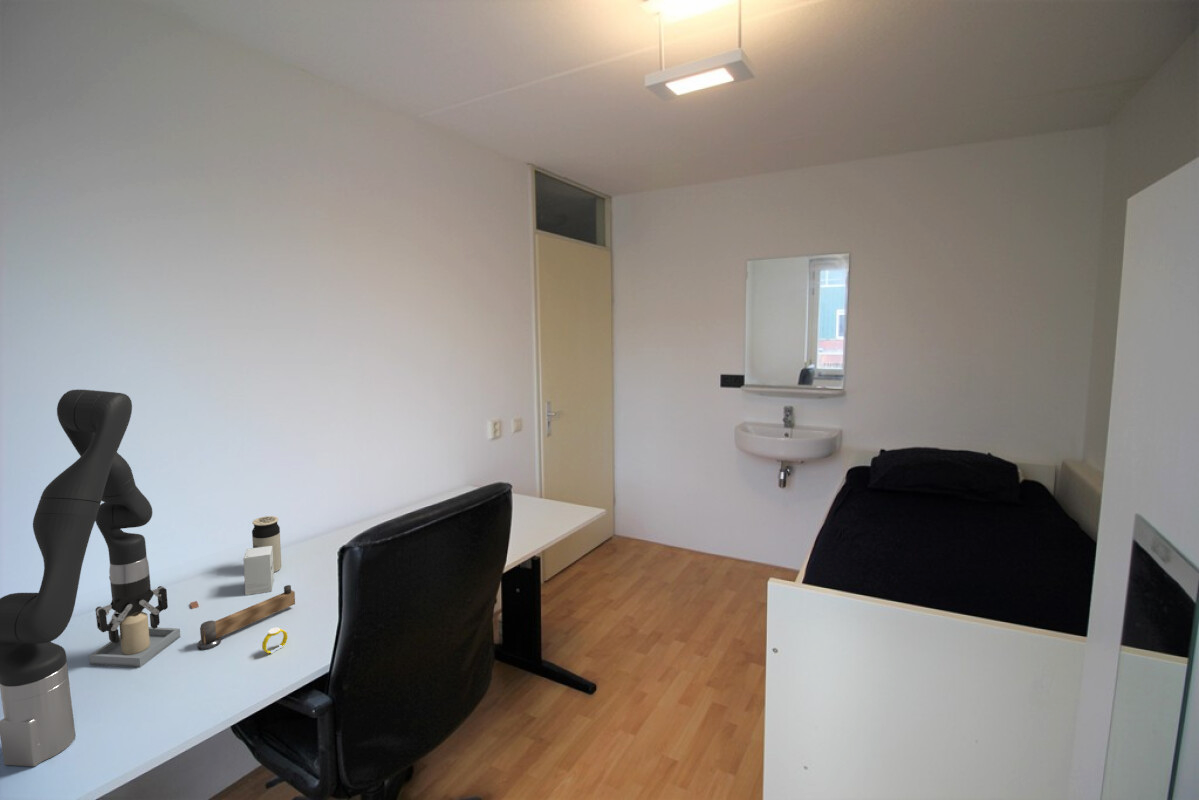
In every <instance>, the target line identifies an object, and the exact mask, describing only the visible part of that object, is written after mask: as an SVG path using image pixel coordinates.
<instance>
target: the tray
mask: <svg viewBox="0 0 1199 800" xmlns="http://www.w3.org/2000/svg"><path fill="white" fill-rule="evenodd" d="M148 627H149V639H150V645H149V647H148V648H147V649H145V650H144V651H142V652H139V653H136V654H132V655H125V654H123V653H122V647H121V637H120V634H119V643H116V644H115V643H114V642H113V643H112V642H111V641H110V640H109V642H107V643H106V644H104V645H103V646H102V647H99V648H98V649H97V650H95V651H93V652H92V653H91V654H89V655H88V657H89V658H88V659H89V665H90V666H92V665H93V666H105V667H107V666H109V667H127V668H129V667H130V668H142V667H143V666H144V665H146V664H147V663H148V662H149V661H151V660H152V659H153V658H155V657H157V655H159V654H160V653H161V652H163V651H164V650H166V649H167V648H168V647H169V646H171V645H172V644H173V643H174V642H176V641H177V640H179V639H180V638H181V631H180V628H171V627H158V626H157V628H155V629H153V628H152V627H151V626H148Z"/></svg>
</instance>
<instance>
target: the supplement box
mask: <svg viewBox="0 0 1199 800" xmlns="http://www.w3.org/2000/svg"><path fill="white" fill-rule="evenodd" d="M243 574H244V576H243V577H244V593H245V596H251V595H257V594H263V593H269V592H273V591H272V590H273V585H274V581H275V578H274V577H275V576H274V575H275V572H274V568H273V547H272V546H266V547H258V548H253V547H252V548H247V549H246V550H245V553H244V556H243Z"/></svg>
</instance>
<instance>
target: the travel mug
mask: <svg viewBox="0 0 1199 800" xmlns="http://www.w3.org/2000/svg"><path fill="white" fill-rule="evenodd" d="M278 521H279V517H278V516H275V515H274V516H273V515H269V516H266V515H265V516H262V517H258V518H256V519H253V520H252V522H251V523H252V525H253V529H252V530H251V535H252V536H251V537H252V548H258V547H266V546H272V547H273V568H274V573H275V572H278V571H279V570H280V569H282V552H281V551H282V549H281V548H282V547H281V528H280V526H279V524H278Z"/></svg>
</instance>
